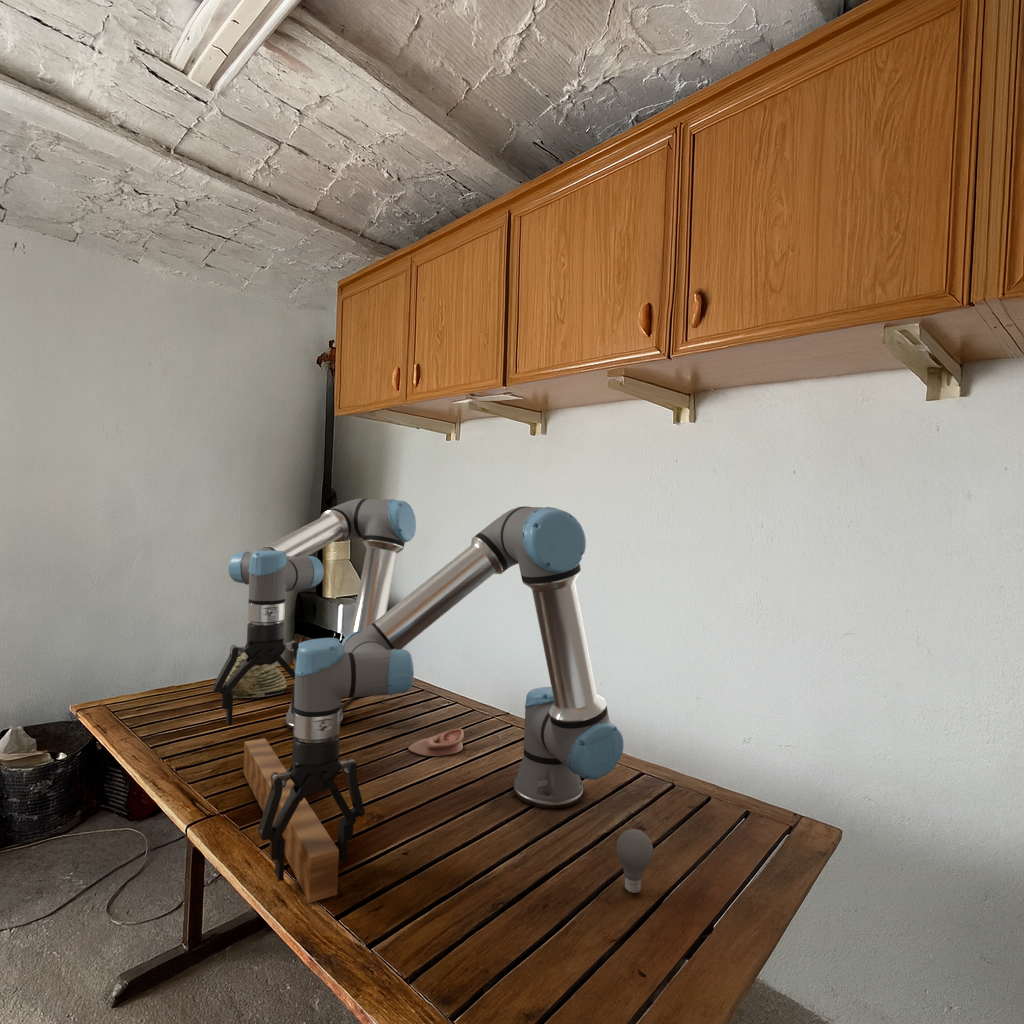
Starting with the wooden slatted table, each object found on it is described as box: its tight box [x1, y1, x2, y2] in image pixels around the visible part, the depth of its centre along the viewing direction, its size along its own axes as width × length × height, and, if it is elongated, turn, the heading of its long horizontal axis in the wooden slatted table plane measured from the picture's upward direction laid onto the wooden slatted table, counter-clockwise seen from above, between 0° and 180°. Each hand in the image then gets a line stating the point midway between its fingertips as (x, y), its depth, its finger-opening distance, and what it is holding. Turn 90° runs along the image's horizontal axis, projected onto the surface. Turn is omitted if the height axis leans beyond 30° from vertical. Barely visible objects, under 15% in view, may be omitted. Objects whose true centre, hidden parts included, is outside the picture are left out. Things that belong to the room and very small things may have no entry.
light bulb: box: [615, 828, 654, 894], centre depth 106 cm, size 6×6×10 cm
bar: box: [242, 737, 340, 904], centre depth 122 cm, size 53×4×7 cm, turn 33°
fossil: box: [223, 652, 288, 699], centre depth 198 cm, size 9×18×15 cm, turn 132°
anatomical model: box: [408, 728, 465, 757], centre depth 162 cm, size 13×4×12 cm
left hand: (262, 718), depth 138 cm, fingers open, 13 cm apart
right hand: (311, 867), depth 106 cm, fingers open, 10 cm apart
